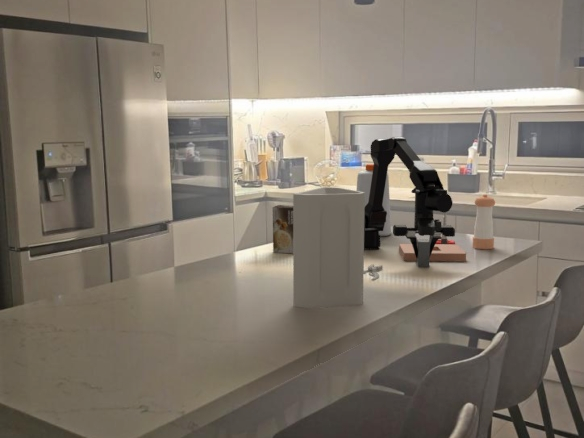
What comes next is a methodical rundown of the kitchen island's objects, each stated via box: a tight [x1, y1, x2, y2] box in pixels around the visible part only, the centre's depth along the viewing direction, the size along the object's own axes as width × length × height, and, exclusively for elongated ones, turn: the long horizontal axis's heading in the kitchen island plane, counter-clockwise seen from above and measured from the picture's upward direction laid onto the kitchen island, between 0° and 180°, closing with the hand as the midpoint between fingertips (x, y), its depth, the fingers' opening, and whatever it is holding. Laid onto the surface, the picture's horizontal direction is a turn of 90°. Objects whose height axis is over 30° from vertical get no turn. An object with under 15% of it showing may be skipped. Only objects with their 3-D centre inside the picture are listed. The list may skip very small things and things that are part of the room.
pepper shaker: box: [472, 194, 496, 250], centre depth 238 cm, size 7×7×19 cm
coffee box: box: [271, 204, 293, 255], centre depth 231 cm, size 9×6×16 cm
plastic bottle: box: [355, 163, 392, 237], centre depth 267 cm, size 15×15×28 cm
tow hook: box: [436, 212, 456, 244], centre depth 246 cm, size 8×13×9 cm
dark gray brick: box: [415, 238, 430, 268], centre depth 209 cm, size 4×5×8 cm
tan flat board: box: [398, 243, 467, 262], centre depth 224 cm, size 20×16×2 cm
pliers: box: [363, 263, 383, 281], centre depth 199 cm, size 10×2×15 cm
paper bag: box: [292, 186, 365, 309], centre depth 168 cm, size 19×15×28 cm
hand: (422, 257), depth 210 cm, fingers closed on dark gray brick, 3 cm apart
